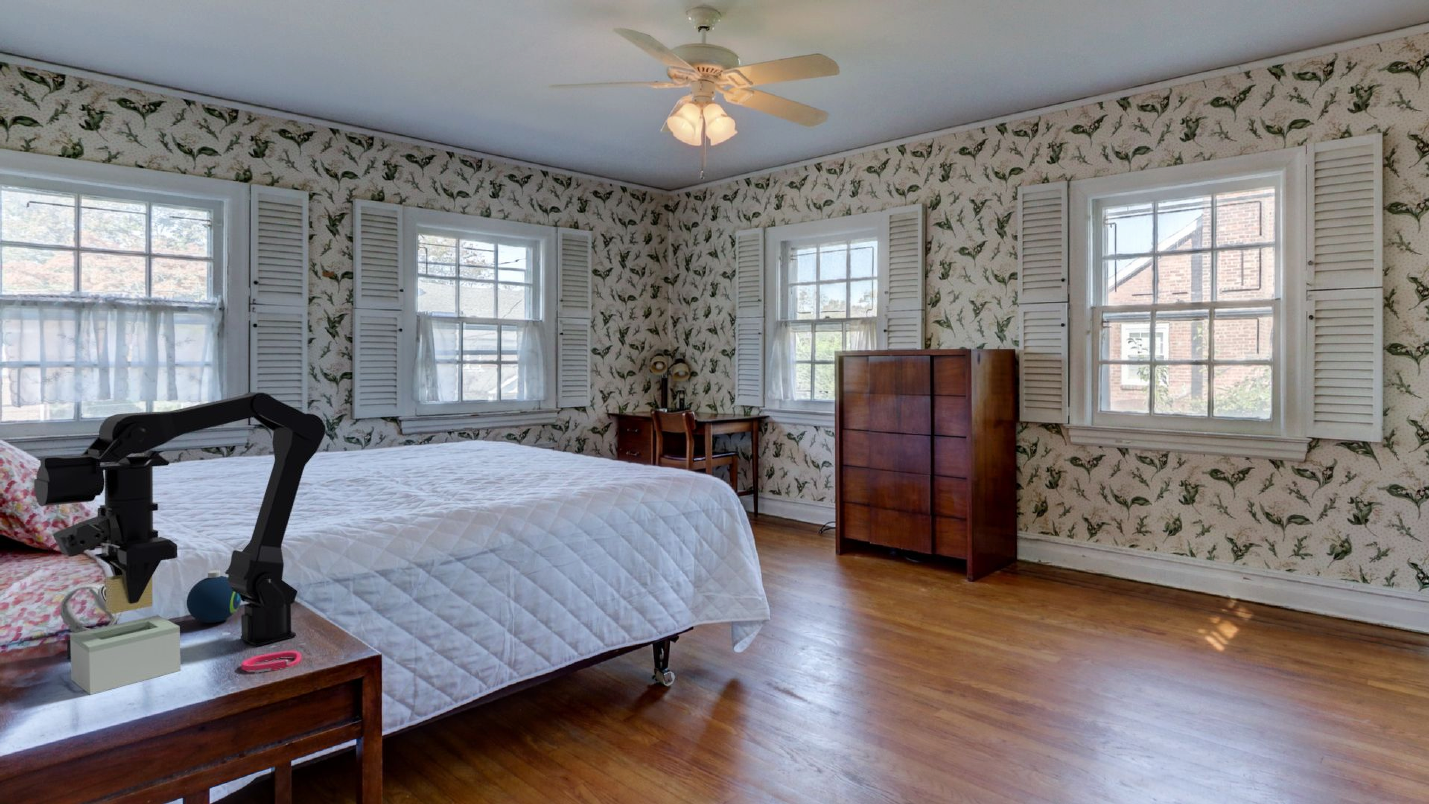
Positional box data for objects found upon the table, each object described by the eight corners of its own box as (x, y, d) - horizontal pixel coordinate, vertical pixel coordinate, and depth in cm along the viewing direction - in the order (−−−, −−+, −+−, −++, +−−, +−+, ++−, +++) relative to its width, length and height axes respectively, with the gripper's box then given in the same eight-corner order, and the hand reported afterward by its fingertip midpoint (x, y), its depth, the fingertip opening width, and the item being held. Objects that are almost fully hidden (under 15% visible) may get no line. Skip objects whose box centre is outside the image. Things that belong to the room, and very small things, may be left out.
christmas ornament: (213, 631, 134) (212, 575, 133) (175, 627, 136) (174, 572, 135) (252, 616, 142) (252, 563, 141) (216, 613, 144) (215, 560, 143)
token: (146, 602, 116) (145, 570, 116) (152, 605, 115) (152, 573, 115) (106, 610, 112) (105, 577, 112) (112, 613, 111) (111, 579, 111)
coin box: (159, 657, 121) (158, 615, 121) (180, 670, 116) (179, 626, 116) (71, 679, 112) (70, 634, 112) (90, 694, 107) (89, 647, 107)
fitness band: (240, 678, 114) (240, 668, 114) (242, 665, 119) (242, 655, 119) (301, 668, 118) (301, 658, 118) (301, 656, 123) (301, 646, 123)
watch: (113, 655, 122) (112, 587, 122) (54, 660, 120) (52, 591, 120) (130, 643, 127) (129, 578, 127) (73, 647, 125) (72, 582, 125)
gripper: (39, 498, 112) (40, 602, 112) (82, 511, 101) (83, 627, 102) (130, 490, 121) (131, 586, 121) (178, 501, 110) (179, 607, 111)
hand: (129, 601), depth 114 cm, fingers closed on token, 2 cm apart
